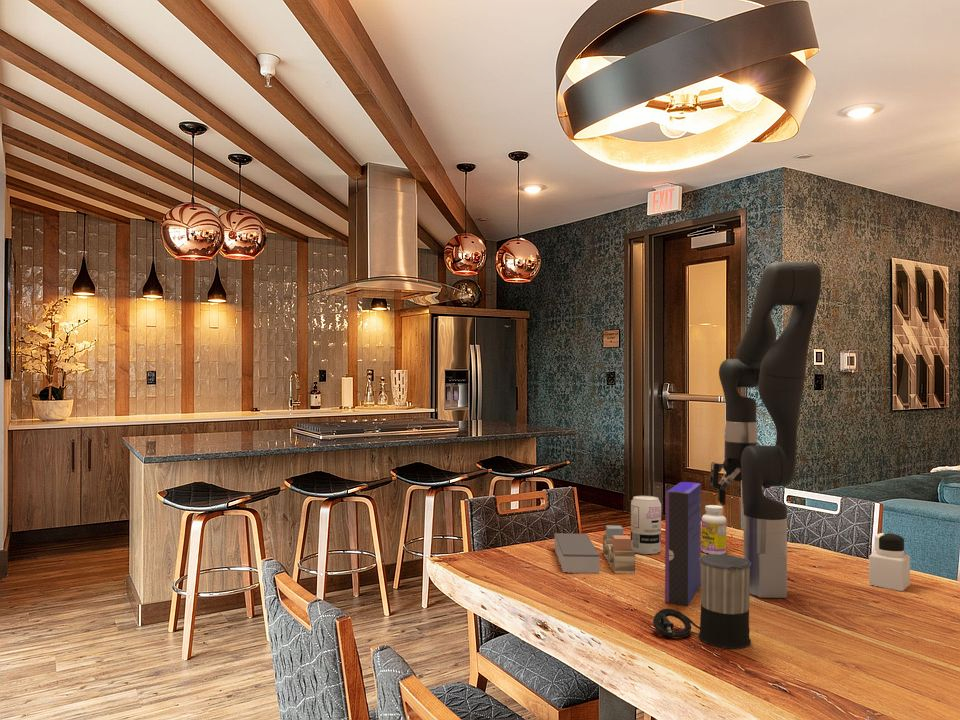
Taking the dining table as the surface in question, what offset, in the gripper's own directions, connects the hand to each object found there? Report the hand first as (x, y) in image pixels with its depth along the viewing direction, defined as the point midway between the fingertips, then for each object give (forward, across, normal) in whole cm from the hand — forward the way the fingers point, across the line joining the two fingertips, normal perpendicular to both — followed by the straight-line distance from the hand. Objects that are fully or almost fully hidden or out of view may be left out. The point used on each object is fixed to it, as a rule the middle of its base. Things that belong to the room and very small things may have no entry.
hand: (739, 504), depth 175 cm
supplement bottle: (+18, +1, +23) cm, 29 cm away
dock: (+18, -39, +12) cm, 45 cm away
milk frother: (+16, -22, -43) cm, 51 cm away
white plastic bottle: (+17, +33, -7) cm, 38 cm away
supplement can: (+18, -18, +23) cm, 34 cm away
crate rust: (+13, -28, +4) cm, 32 cm away
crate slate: (+14, -28, +16) cm, 35 cm away
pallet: (+18, -28, +10) cm, 35 cm away
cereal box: (+17, -18, -16) cm, 30 cm away
